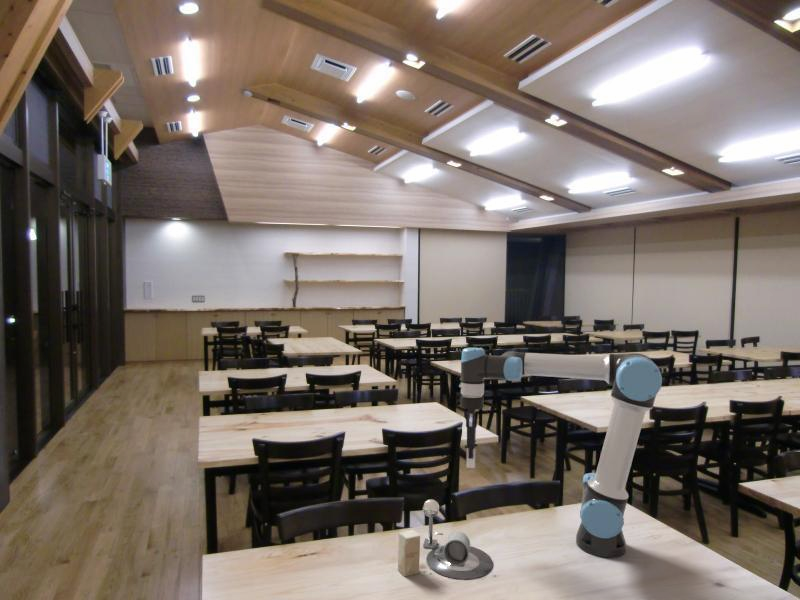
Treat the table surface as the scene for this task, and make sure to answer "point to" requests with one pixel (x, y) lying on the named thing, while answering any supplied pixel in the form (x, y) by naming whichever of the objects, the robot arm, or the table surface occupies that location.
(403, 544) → the box
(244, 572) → the table surface
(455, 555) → the ceramic mug
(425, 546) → the dial stand
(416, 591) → the table surface
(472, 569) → the platter
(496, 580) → the table surface
